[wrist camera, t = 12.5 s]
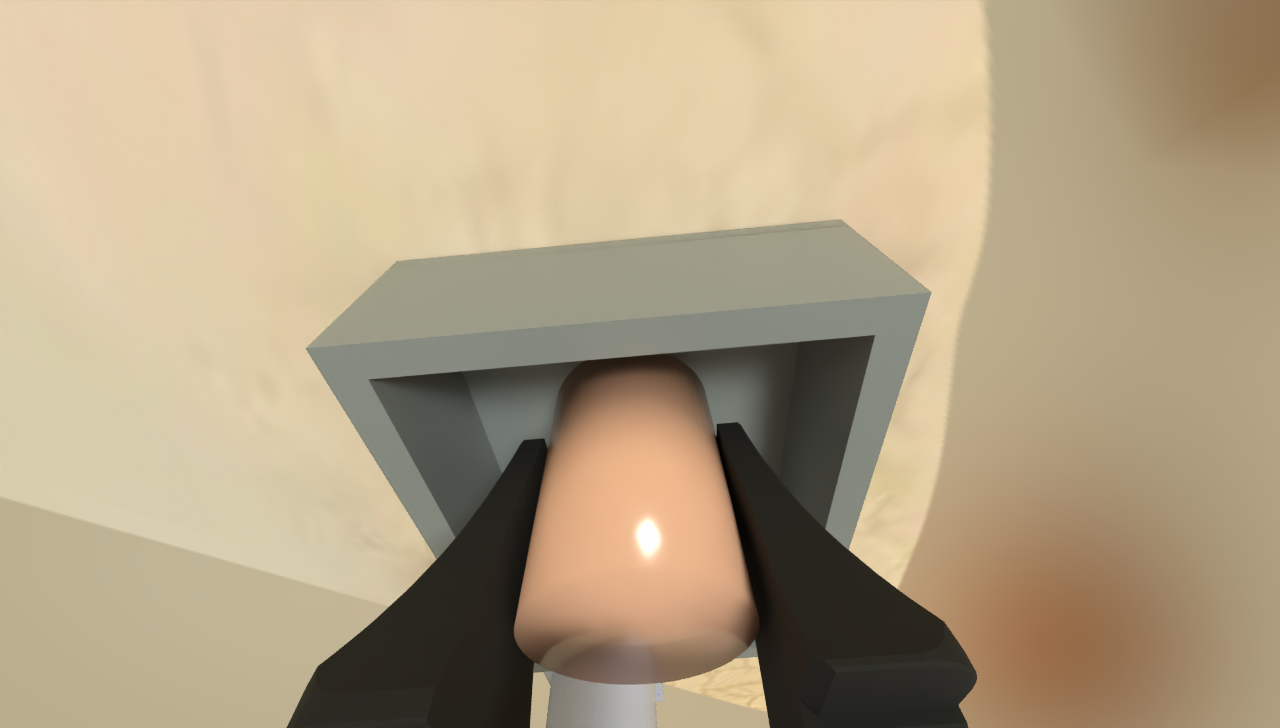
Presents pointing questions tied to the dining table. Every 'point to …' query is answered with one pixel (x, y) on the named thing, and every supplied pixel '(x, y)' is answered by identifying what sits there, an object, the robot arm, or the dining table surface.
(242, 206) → the dining table surface
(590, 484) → the terracotta cylinder
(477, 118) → the dining table surface
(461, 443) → the box
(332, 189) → the dining table surface
